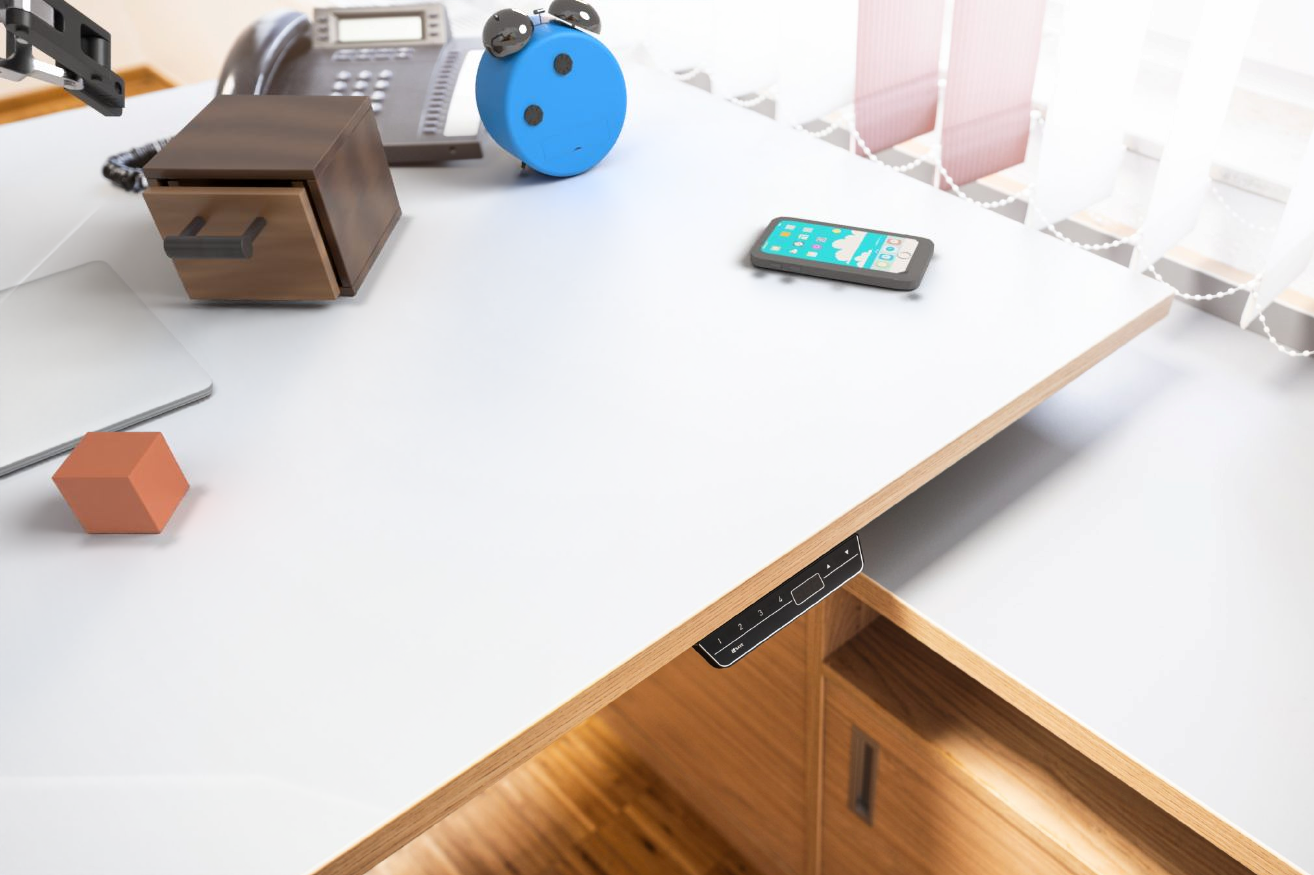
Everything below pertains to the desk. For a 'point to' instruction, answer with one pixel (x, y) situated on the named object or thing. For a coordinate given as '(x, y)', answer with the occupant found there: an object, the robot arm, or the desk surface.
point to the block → (122, 482)
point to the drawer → (244, 239)
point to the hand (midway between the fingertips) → (37, 99)
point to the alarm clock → (550, 88)
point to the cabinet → (298, 164)
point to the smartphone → (843, 252)
